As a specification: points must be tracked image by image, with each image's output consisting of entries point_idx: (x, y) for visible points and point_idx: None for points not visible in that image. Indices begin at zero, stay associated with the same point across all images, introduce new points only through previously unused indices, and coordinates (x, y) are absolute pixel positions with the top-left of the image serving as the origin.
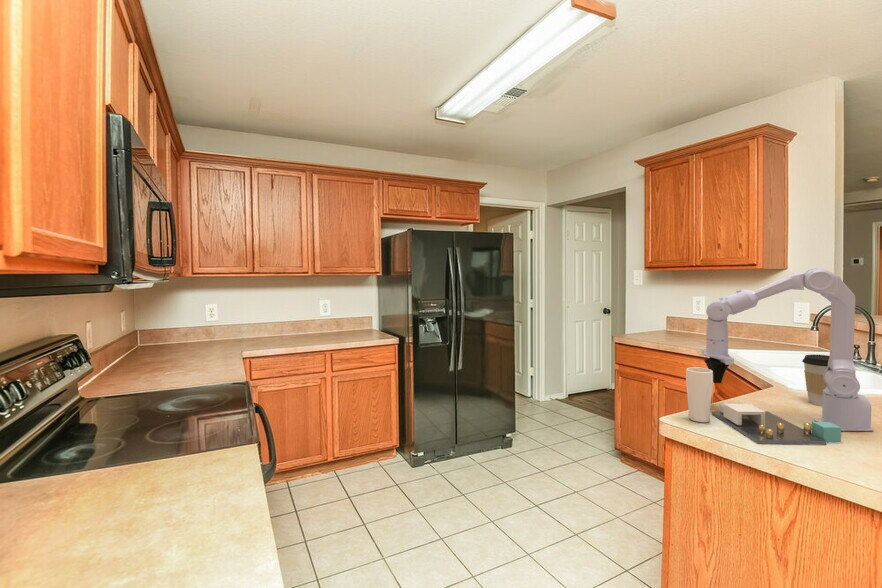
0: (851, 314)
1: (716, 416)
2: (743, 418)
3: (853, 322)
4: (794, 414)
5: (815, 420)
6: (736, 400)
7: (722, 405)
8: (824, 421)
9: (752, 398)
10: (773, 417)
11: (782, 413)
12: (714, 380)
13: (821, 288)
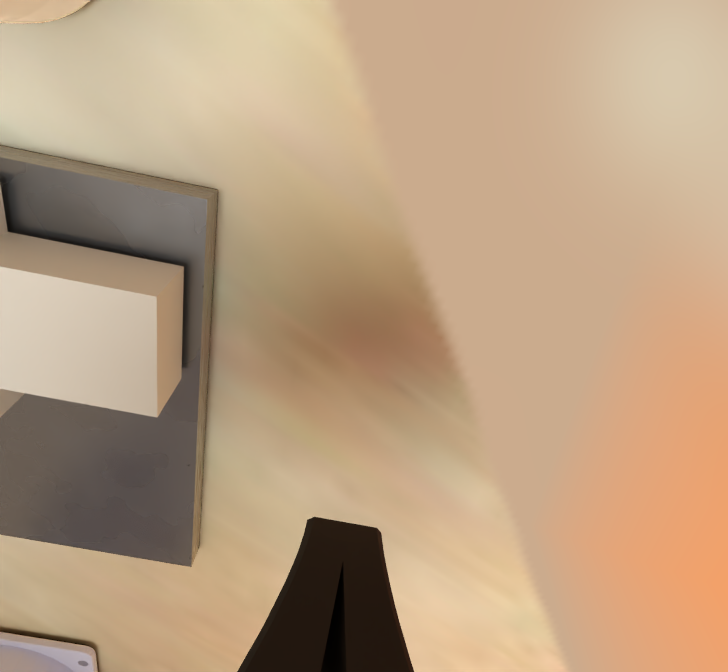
0: None
1: (117, 172)
2: None
3: None
4: (202, 645)
5: (72, 648)
6: (512, 584)
7: (111, 296)
8: (16, 658)
9: (514, 668)
10: (60, 516)
11: (221, 616)
12: (299, 554)
13: None
